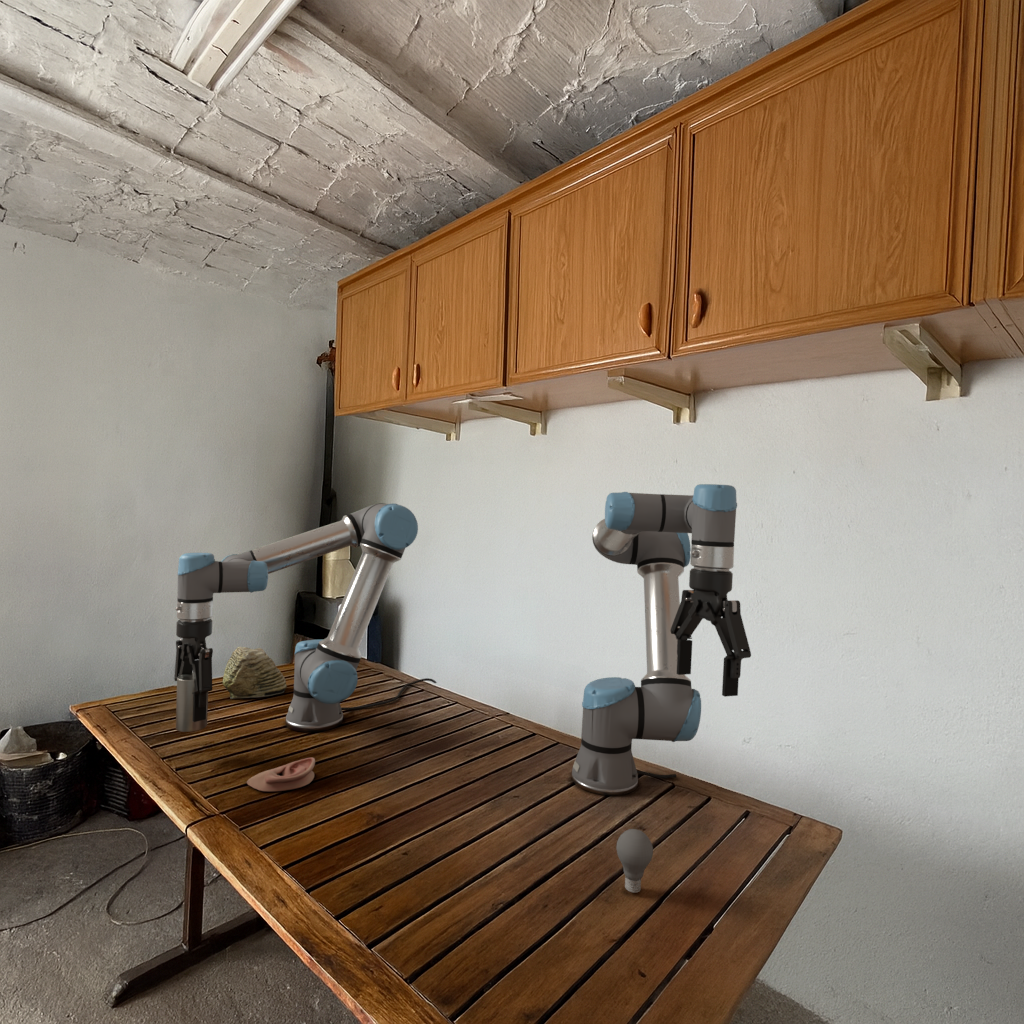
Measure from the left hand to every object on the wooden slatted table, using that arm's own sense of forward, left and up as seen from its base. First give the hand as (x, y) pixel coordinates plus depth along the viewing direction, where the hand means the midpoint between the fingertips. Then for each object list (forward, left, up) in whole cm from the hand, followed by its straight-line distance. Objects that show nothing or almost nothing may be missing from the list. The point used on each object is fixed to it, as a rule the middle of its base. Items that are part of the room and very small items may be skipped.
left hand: (192, 716), depth 149 cm
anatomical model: (-8, +25, -10) cm, 28 cm away
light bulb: (-26, +102, -10) cm, 106 cm away
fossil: (-35, -34, -10) cm, 50 cm away
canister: (0, 0, -2) cm, 2 cm away
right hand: (-43, +106, +22) cm, 117 cm away
